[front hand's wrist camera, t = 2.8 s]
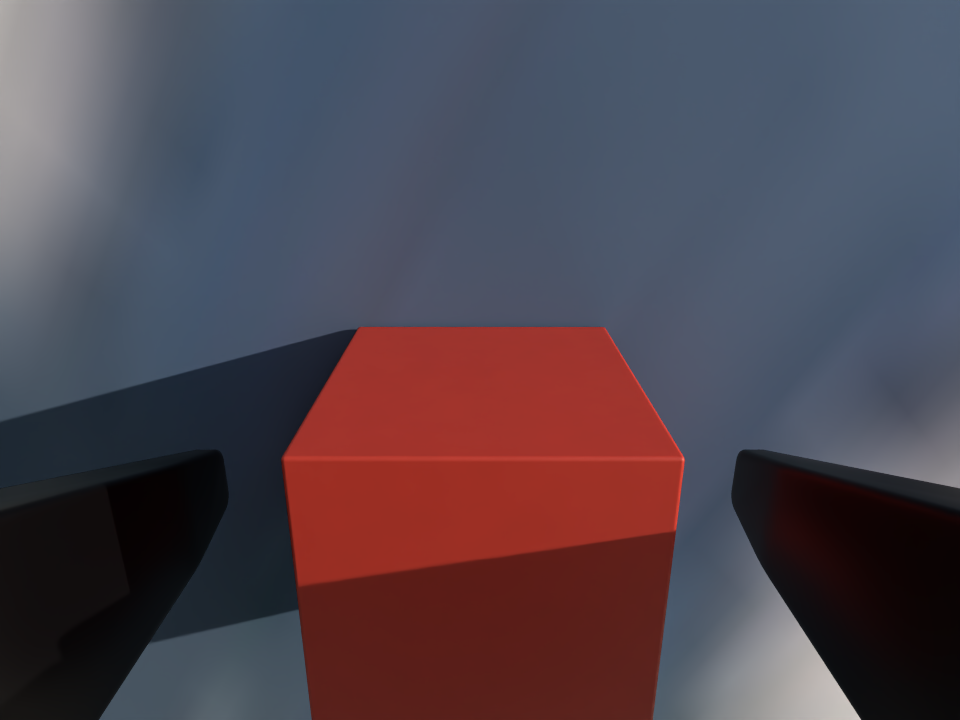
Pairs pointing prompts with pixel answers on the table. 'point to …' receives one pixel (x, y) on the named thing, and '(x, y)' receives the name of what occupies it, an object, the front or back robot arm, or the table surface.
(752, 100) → the table surface
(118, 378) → the table surface
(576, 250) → the table surface
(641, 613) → the brick
